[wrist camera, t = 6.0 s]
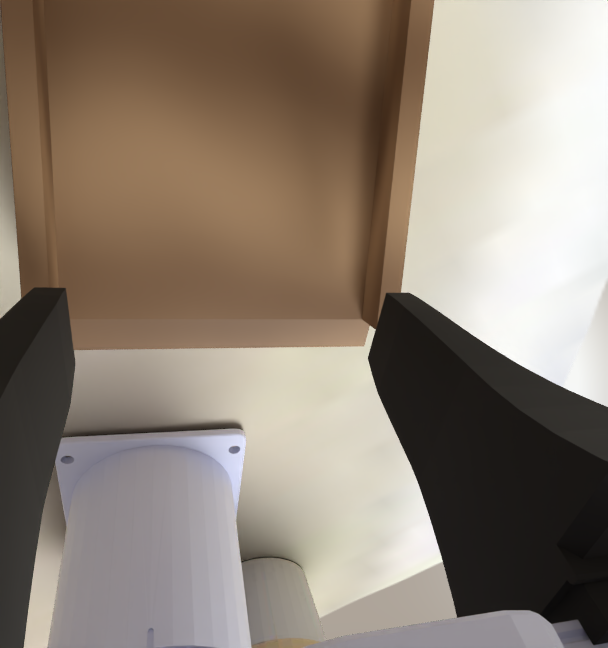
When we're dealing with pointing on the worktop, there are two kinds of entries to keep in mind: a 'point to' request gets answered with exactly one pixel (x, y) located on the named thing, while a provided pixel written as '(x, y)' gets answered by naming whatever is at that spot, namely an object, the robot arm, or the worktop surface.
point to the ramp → (215, 164)
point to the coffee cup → (279, 605)
